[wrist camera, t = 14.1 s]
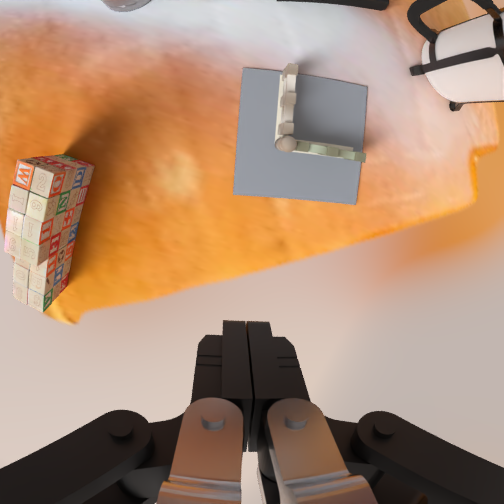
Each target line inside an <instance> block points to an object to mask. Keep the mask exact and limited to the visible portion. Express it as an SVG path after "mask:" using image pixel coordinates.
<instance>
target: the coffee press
mask: <svg viewBox="0 0 504 504" xmlns="http://www.w3.org/2000/svg"><path fill="white" fill-rule="evenodd" d="M445 1H447V0H416V1H415V2H414V3H413V4H412V5H411V6H410V8H409V10H408V12H407V17H408V20H409V22H410V23H411V25H412V26H413V27H414V28H415V29H416V30H417V31H418V32H419V33H420V34H421V35H423V36H424V37H425V38H426V39H427V40H426V42H425V44H424V46H423V49H422V65H420V66H415V67H411V68H410V71H411V75H412V76H415V75H422V74H426V77H427V79H428V80H429V82H430V84H431V85H432V86H433V88H434V89H435V90H436V91H437V92H438V93H439V94H440V95H441V96H443V97H444V98H446V99H448V100H450V104H449V107H450V110H451V111H459V110H460V109H461V107H462V106H463V104H465V103H459V104H458V105H457V106H456V108H455V103H456V102H466V103H482V102H504V101H491V100H504V8H501V9H498V8H497V6H496V5H495V4H493V1H492V0H472V1H474V2H475V3H477V4H478V5H479V6H480V7H482V8H483V9H485V10H486V11H487V12H488V13H487V14H485V15H482V16H479V17H476V18H473V19H470V20H468V21H465V22H462V23H460V24H457V25H454V26H452V27H449V28H446V29H444V30H441V31H437V30H435V29H430V28H429V27H427V26H426V25H425V24H424V23H423V22H422V20H421V18H420V15H421V14H422V13H424V12H426V11H428V10H429V9H431V8H433V7H435V6H437V5H439V4H441V3H443V2H445ZM472 101H480V102H472Z"/></svg>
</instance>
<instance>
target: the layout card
mask: <svg viewBox="0 0 504 504" xmlns="http://www.w3.org/2000/svg"><path fill="white" fill-rule="evenodd" d="M283 85H284V81H282V72H280V71H272V70H262V69H251V68H243V74H242V85H241V97H240V109H239V121H238V134H237V147H236V161H235V175H234V189H233V195H246V196H261V197H275V198H288V199H300V200H311V201H322V202H332V203H342V204H352V205H356V199H357V192H358V184H359V176H360V167H361V162H359V161H353V160H348V159H344V158H341V157H332V156H326V155H320V154H318V153H312V152H301V151H292V152H285V151H279V150H277V149H276V148H275V141H276V140H277V139H278V138H283V137H286V135H278V125H279V124H280V123H281V110H282V108H281V107H280V99H281V97H282V96H283ZM295 93H296V104H295V105H294V109H293V121H292V123H294V129H293V135H287V136H291V137H293V138H294V139H295V140H296V141H301V142H307V143H309V144H314V145H319V146H331V147H336V148H339V149H341V150H346V151H355V152H361V153H362V148H363V138H364V126H365V114H366V98H367V87H365V86H361V85H356V84H352V83H347V82H342V81H337V80H332V79H327V78H321V77H315V76H309V75H303V74H298V75H297V76H296V83H295Z"/></svg>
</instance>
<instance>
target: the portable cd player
mask: <svg viewBox="0 0 504 504" xmlns="http://www.w3.org/2000/svg"><path fill="white" fill-rule="evenodd" d="M277 1H296V2H315V3H328V4H338V5H347V6H355V7H362V8H368V9H374V10H380V11H381V10H385V9H386V7H387V6H388V4H389V0H277Z"/></svg>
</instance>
